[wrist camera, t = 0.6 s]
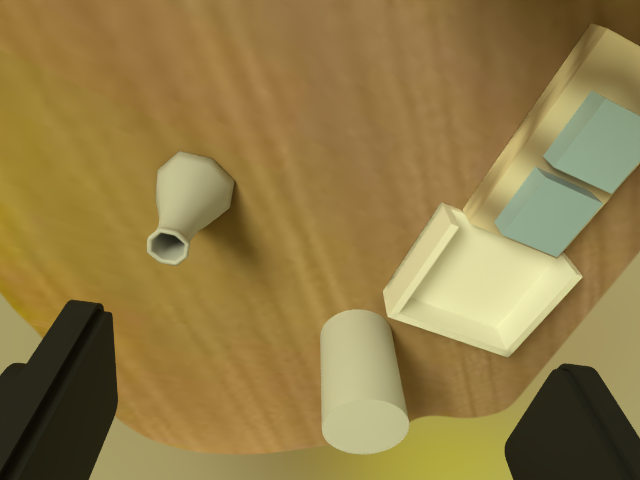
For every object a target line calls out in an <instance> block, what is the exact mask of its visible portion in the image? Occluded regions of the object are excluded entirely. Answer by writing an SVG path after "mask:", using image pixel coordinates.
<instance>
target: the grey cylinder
mask: <svg viewBox="0 0 640 480" xmlns="http://www.w3.org/2000/svg"><path fill="white" fill-rule="evenodd" d="M320 341H321V402H322V433H323V436H324V438H325V439H326V441H327V442H328V443H329V444H330V445H332V446H333V447H335V448H337V449H339V450H341V451H344V452H348V453H354V454H372V453H378V452H382V451H385V450H387V449H390V448H392V447H394V446H395V445H397V444H398V443H399V442H401V441H402V439H404V437H405V436H406V434H407V433H408V429H409V420H408V415H407V410H406V404H405V399H404V394H403V389H402V384H401V379H400V373H399V368H398V363H397V358H396V353H395V347H394V342H393V337H392V332H391V328H390V325H389V324H388V322H387V321H386V320H385V319H384V318H383V317H382V316H380V315H378V314H376V313H374V312H371V311H367V310H348V311H344V312H341V313H339V314H337V315H335V316H333V317H332V318H330V319H329V320H328V321H327V322H326V323H325V325H324V326H323V328H322V331H321V335H320Z"/></svg>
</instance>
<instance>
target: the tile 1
mask: <svg viewBox="0 0 640 480" xmlns="http://www.w3.org/2000/svg"><path fill="white" fill-rule="evenodd" d="M602 205H603V203H602V202H601V201H600V200H599V199H598V198H597V197H596V196H595V195H594V194H593V193H592V192H590V191H588V190H586V189H584V188H582V187H579V186H577V185H575V184H573V183H571V182H568V181H566V180H564V179H562V178H560V177H557V176H555V175H553V174H551V173H549V172H546V171H544V170H542V169H540V168H538V167H535V168H534V169H533V170H532V172H531V173H530V174H529V176H528V177H527V178H526V180H525V181H524V182H523V184H522V185H521V187H520V188H519V189H518V191H517V192H516V193H515V195H514V196H513V197H512V199H511V200H510V201H509V203H508V204H507V205H506V207H505V208H504V209H503V211H502V212H501V214H500V215H499V216H498V218H497V219H496V220H495V222H494V223H495V224H496V226H497V227H498V229H499V231H500V232H501V234H502V235H503V236H506V237H508V238H511V239H513V240H516V241H518V242H521V243H523V244H526V245H528V246H530V247H533V248H535V249H538V250H540V251H543V252H545V253H548V254H550V255H553V256H555V257H558V256H559V255H560V254H561V252H562V251H563V250H564V249H565V248H566V247H567V245H568V244H569V243H570V242H571V241H572V240H573V238H574V237H575V236H576V235H577V234H578V233H579V231H580V230H581V229H582V228H583V227H584V226H585V225H586V223H587V222H588V221H589V220H590V219H591V218H592V216H593V215H594V214H595V213H596V212H597V211H598V209H599V208H600V207H601V206H602Z"/></svg>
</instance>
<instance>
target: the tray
mask: <svg viewBox="0 0 640 480" xmlns="http://www.w3.org/2000/svg"><path fill="white" fill-rule="evenodd" d="M582 277H583V276H582V275H581V274H580V272H579V271H578V270H577V268H576V267H575V266H574V264H573V263H572V262H571V261H570V259H569V258H568V257H567V255H566V254H565V253H564V252H563V253H562V254H561V255H560V256H559V258H558V259H557V258H554V257H552V256H549V255H547V254H544V253H542V252H539V251H537V250H534V249H532V248H529V247H527V246H525V245H522V244H520V243H517V242H515V241H512V240H510V239H507V238H505V237H502V236H500V235H497V234H495V233H493V232H490V231H488V230H485V229H483V228H480V227H478V226H475V225H473V224H470V223H469V221H468V219H467V217H466V215H465V214H464V212H463V211H462V210H459V209H457V208H454V207H452V206H450V205H447V204H445V203H442V202H441V203H440V205H439V206H438V208H437V209H436V211H435V213H434V214H433V216H432V217H431V219H430V220H429V222H428V223H427V225H426V226H425V228H424V229H423V231H422V232H421V234H420V235H419V237H418V239H417V240H416V242H415V243H414V245H413V246H412V248H411V249H410V251H409V252H408V254H407V255H406V257H405V258H404V260H403V261H402V263H401V264H400V266H399V268H398V269H397V271H396V272H395V274H394V275H393V277H392V278H391V280H390V281H389V283H388V284H387V286H386V287H385V289H384V290H383V295H384V300H385V305H386V311H387V316H388V317H390V318H393V319H396V320H398V321H401V322H404V323H407V324H410V325H413V326H416V327H419V328H422V329H425V330H428V331H431V332H434V333H437V334H440V335H443V336H446V337H449V338H452V339H455V340H458V341H461V342H464V343H467V344H470V345H472V346H475V347H478V348H481V349H484V350H487V351H490V352H493V353H496V354H499V355H502V356H505V357H509V356H510V355H511V354H512V353H513V352H514V351H515V350H516V349H517V348H518V347H519V346H520V344H521V343H522V342H523V341H524V340H525V339H526V338H527V337H528V336H529V335H530V334H531V333H532V331H533V330H534V329H535V328H536V327H537V326H538V325H539V324H540V323H541V322H542V321H543V319H544V318H545V317H546V316H547V315H548V314H549V313H550V312H551V311H552V310H553V309H554V308H555V306H556V305H557V304H558V303H559V302H560V301H561V300H562V299H563V298H564V297H565V296H566V295H567V293H568V292H569V291H570V290H571V289H572V288H573V287H574V286H575V285H576V284H577V283H578V282H579V280H580V279H581V278H582Z"/></svg>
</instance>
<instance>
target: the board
mask: <svg viewBox="0 0 640 480" xmlns="http://www.w3.org/2000/svg"><path fill="white" fill-rule="evenodd" d="M591 91H594V92H596V93H598V94H599V95H601V96H603V97H605V98H607V99H609V100H611V101H613V102H615V103H617V104H619V105H621V106H623V107H625V108H627V109H629V110H630V111H632V112H634V113H636V114H638V115H640V46H638V45H636V44H634V43H633V42H631V41H629V40H627V39H625V38H624V37H622V36H620V35H618V34H616V33H615V32H613V31H611V30H609V29H607V28H604V27H602V26H599V25H596V24H593V23H591V24H590V25H589V27H588V28H587V30H586V31H585V32H584V34H583V35H582V37H581V38H580V40H579V41H578V43H577V44H576V46H575V47H574V48H573V50H572V51H571V53H570V54H569V56H568V57H567V59H566V60H565V61H564V63H563V64H562V66H561V67H560V69H559V70H558V72H557V73H556V75H555V76H554V77H553V79H552V80H551V82H550V83H549V85H548V86H547V88H546V89H545V91H544V92H543V93H542V95H541V96H540V98H539V99H538V101H537V102H536V104H535V105H534V107H533V108H532V109H531V111H530V112H529V114H528V115H527V117H526V118H525V120H524V121H523V123H522V124H521V125H520V127H519V128H518V130H517V131H516V133H515V134H514V136H513V137H512V139H511V140H510V141H509V143H508V144H507V146H506V147H505V149H504V150H503V152H502V153H501V154H500V156H499V157H498V159H497V160H496V162H495V163H494V165H493V166H492V168H491V169H490V170H489V172H488V173H487V175H486V176H485V178H484V179H483V181H482V182H481V184H480V185H479V186H478V188H477V189H476V191H475V192H474V194H473V195H472V197H471V198H470V200H469V201H468V202H467V204H466V205H465V207H464V208H463V212H464V214H465V215H466V217H467V219H468V221H469V223H470V224H473V225H475V226H478V227H480V228H483V229H485V230H488V231H490V232H493V233H495V234H497V235H500V236H502V237H505V238H507V239H510V240H512V241H515V242H517V243H520V244H522V245H525V246H527V247H529V248H532V249H534V250H537V251H539V252H542V253H544V254H547V255H549V256H552V257H554V258H557V259H558V258H559V256H560V255H561V254H562V253H563V252H564V251H565V249H566V248H567V247H568V246H569V245H570V244H571V243H572V241H573V240H574V239H575V238H576V237H577V236H578V234H579V233H580V232H581V231H582V230H583V229H584V228H585V226H586V225H587V224H588V223H589V222H590V221H591V219H592V218H593V217H594V216H595V215H596V214H597V212H598V211H599V210H600V209H601V208H602V207H603V206H604V204H605V203H606V202H607V201H608V200H609V199H610V197H611V196H612V195H613V194H614V193H615V192H616V190H617V189H618V188H619V187H620V186H621V185H622V184H623V182H624V181H625V180H626V179H627V178H628V177H629V175H630V174H631V173H632V172H633V171H634V170H635V169H636V167H637V166H638V165H639V164H640V162H639V163H638V164H637V165H636V167H635V168H634V169H633V170H632V171H631V172H630V174H629V175H628V176H627V177H626V178H625V179H624V180H623V182H622V183H621V184H620V185H619V186H618V187H617V189H616V190H615V191H614V192H613V193H612V194H611V193H609V192H606V191H604V190H602V189H600V188H598V187H596V186H593V185H591V184H589V183H587V182H585V181H583V180H580V179H578V178H576V177H574V176H572V175H569V174H567V173H565V172H563V171H561V170H559V169H556V168H554V167H553V166H552V165H551V164H550V163H549V162H548V161H547V160H546V159H545V158H544V157H543V155H544V154H545V153H546V151H547V150H548V149H549V147H550V146H551V145H552V143H553V142H554V141H555V139H556V138H557V137H558V135H559V134H560V133H561V131H562V130H563V128H564V127H565V126H566V124H567V123H568V122H569V120H570V119H571V118H572V116H573V115H574V114H575V112H576V111H577V110H578V108H579V107H580V106H581V104H582V103H583V101H584V100H585V99H586V97H587V96H588V95H589V93H590V92H591ZM535 167H538V168H540V169H542V170H544V171H546V172H549V173H551V174H553V175H555V176H557V177H560V178H562V179H564V180H566V181H568V182H571V183H573V184H575V185H577V186H579V187H582V188H584V189H586V190H588V191H590V192H592V193H593V194H594V195H595V196H596V197H597V198H598V199H599V200H600V201H601V202H602V203H603V205H602V206H601V207H600V208H599V209H598V211H597V212H596V213H595V214H594V215H593V216H592V218H591V219H590V220H589V221H588V222H587V223H586V225H585V226H584V227H583V228H582V229H581V230H580V231H579V233H578V234H577V235H576V236H575V237H574V238H573V240H572V241H571V242H570V243H569V244H568V245H567V247H566V248H565V249H564V250H563V251H562V252H561V254H560V255H559V256H558V257H555V256H553V255H550V254H548V253H545V252H543V251H540V250H538V249H535V248H533V247H530V246H528V245H526V244H523V243H521V242H518V241H516V240H513V239H511V238H508V237H506V236H503V235H502V234H501V232H500V231H499V229H498V227H497V226H496V224H495V223H494V222H495V220H496V219H497V218H498V216H499V215H500V214H501V212H502V211H503V209H504V208H505V207H506V205H507V204H508V203H509V201H510V200H511V199H512V197H513V196H514V195H515V193H516V192H517V191H518V189H519V188H520V187H521V185H522V184H523V182H524V181H525V180H526V178H527V177H528V176H529V174H530V173H531V172H532V170H533V169H534V168H535Z"/></svg>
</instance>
